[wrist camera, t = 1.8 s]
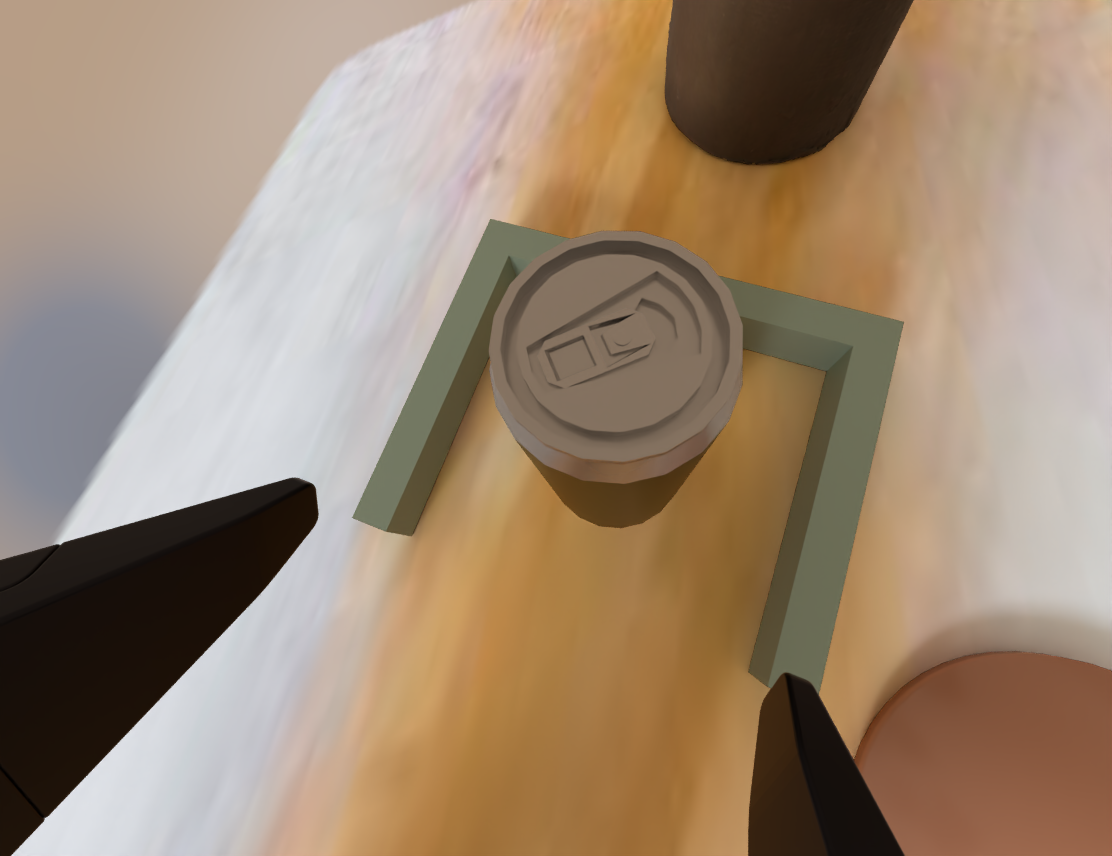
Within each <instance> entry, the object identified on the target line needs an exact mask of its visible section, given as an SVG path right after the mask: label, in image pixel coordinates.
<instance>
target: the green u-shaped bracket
mask: <svg viewBox="0 0 1112 856" xmlns="http://www.w3.org/2000/svg"><path fill="white" fill-rule="evenodd" d="M566 240H569V238H565V237H561V236H557V235H553V234H549V233H545V232H541V231H537V230H533V229H529V228H525V227H521V226H517V225H513V224H509V223H505V222H501V221H497V220H493V219H490V221H489V223H488V226H487V228H486V230H485V232H484V234H483V236H482V239H481V241H480V243H479V245H478V247H477V249H476V251H475V254H474V256H473V258H472V260H471V262H470V264H469V267H468V269H467V271H466V273H465V275H464V277H463V280H462V282H461V284H460V286H459V288H458V290H457V293H456V295H455V297H454V299H453V301H452V303H451V306H450V308H449V310H448V312H447V314H446V316H445V318H444V321H443V323H442V325H441V327H440V329H439V331H438V334H437V336H436V338H435V340H434V342H433V344H432V347H431V349H430V351H429V353H428V355H427V357H426V360H425V362H424V364H423V366H422V368H421V370H420V372H419V375H418V377H417V379H416V381H415V383H414V385H413V388H412V390H411V392H410V394H409V396H408V398H407V401H406V403H405V405H404V407H403V409H402V411H401V414H400V416H399V418H398V420H397V422H396V424H395V426H394V429H393V431H392V433H391V435H390V437H389V439H388V442H387V444H386V446H385V448H384V450H383V452H382V455H381V457H380V459H379V461H378V463H377V465H376V468H375V470H374V472H373V474H372V476H371V478H370V480H369V483H368V485H367V487H366V489H365V491H364V493H363V496H362V498H361V500H360V502H359V504H358V506H357V509H356V511H355V513H354V515H353V517H352V518H354V519H356V520H359V521H361V522H363V523H366V524H368V525H371V526H373V527H376V528H378V529H381V530H383V531H386V532H391V533H396V534H402V535H407V536H412V534H413V532H414V530H415V527H416V525H417V523H418V520H419V518H420V516H421V513H422V511H423V509H424V507H425V504H426V502H427V500H428V497H429V495H430V493H431V490H432V488H433V486H434V483H435V481H436V479H437V476H438V474H439V472H440V469H441V467H442V465H443V463H444V460H445V458H446V456H447V453H448V451H449V449H450V446H451V444H452V442H453V439H454V437H455V435H456V432H457V430H458V428H459V425H460V423H461V421H462V419H463V416H464V414H465V412H466V409H467V407H468V405H469V402H470V400H471V398H472V395H473V393H474V391H475V388H476V386H477V384H478V381H479V379H480V377H481V375H482V372H483V370H484V368H485V365H486V363H487V361H488V358H489V356H490V355H489V344H490V338H491V331H492V324H493V318H494V314H495V312H496V310H497V308H498V306H499V304H500V303H501V301H502V299H503V297H504V295H505V293H506V291H507V289H508V287H509V285H510V283H511V282H512V281H513V280H514V279H515V278H516V277H517V276H518V275H519V274H520V273H521V272H522V271H523V270H524V269H525V268H526V267H527V266H528V265H529V264H530V263H531V262H532V261H533V260H534V259H535V258H536V257H538V256H540V255H542V254H543V253H545V252H547V251H548V250H550V249H552V248H554V247H555V246H557V245H559V244H561V243H562V242H564V241H566ZM719 277H720V279H721V280H722V281H723V282H724V283H725V285H726V286H727V287H728V288H729V290H730V291H731V294H732V297H733V300H734V302H735V305H736V308H737V311H738V313H739V316H740V319H741V322H742V324H743V348H744V349H748V350H751V351H755V352H758V353H762V354H766V355H769V356H773V357H777V358H780V359H784V360H787V361H791V362H795V363H798V364H802V365H806V366H809V367H813V368H816V369H820V370H824V371H827V372H826V376H825V380H824V384H823V388H822V391H821V395H820V399H819V403H818V407H817V411H816V414H815V418H814V422H813V426H812V430H811V434H810V437H809V441H808V445H807V449H806V453H805V457H804V460H803V464H802V468H801V472H800V476H799V479H798V483H797V487H796V491H795V495H794V499H793V502H792V506H791V510H790V514H789V518H788V522H787V525H786V529H785V533H784V537H783V541H782V545H781V548H780V552H779V556H778V560H777V564H776V568H775V571H774V575H773V579H772V583H771V587H770V591H769V594H768V598H767V602H766V606H765V610H764V614H763V617H762V621H761V625H760V629H759V633H758V637H757V640H756V644H755V648H754V652H753V656H752V659H751V663H750V667H749V671H748V672H749V673H750V674H751V675H753V676H754V677H755V678H757V679H758V680H759V681H761V682H762V683H763V684H765V685H766V686H767V687H769V688H772V687H773V685H774V684H775V682H776V681H777V679H778V678H779V676H780V675H781V674H783V673H785V672H788V673H791V674H793V675H796V676H798V677H801V678H804V679H806V680H808V681H809V682H811V683H812V685H813V686H814V687H815V689H816V691H817V693H818V695H819V691H820V687H821V683H822V678H823V674H824V670H825V665H826V661H827V656H828V652H829V648H830V643H831V639H832V635H833V630H834V626H835V621H836V617H837V613H838V608H839V604H840V600H841V595H842V591H843V586H844V582H845V578H846V573H847V569H848V564H849V560H850V556H851V551H852V547H853V543H854V538H855V534H856V529H857V525H858V521H859V516H860V512H861V508H862V503H863V499H864V494H865V490H866V486H867V481H868V477H869V473H870V468H871V464H872V459H873V455H874V451H875V446H876V442H877V438H878V433H879V429H880V424H881V420H882V416H883V411H884V407H885V403H886V398H887V394H888V389H889V385H890V381H891V376H892V372H893V367H894V363H895V359H896V354H897V350H898V346H899V341H900V337H901V332H902V328H903V324H904V322H902V321H898V320H894V319H890V318H886V317H882V316H878V315H874V314H870V313H866V312H862V311H858V310H854V309H850V308H846V307H842V306H838V305H834V304H830V303H826V302H822V301H818V300H814V299H810V298H806V297H802V296H798V295H794V294H790V293H786V292H782V291H778V290H774V289H770V288H766V287H762V286H758V285H754V284H750V283H746V282H742V281H738V280H734V279H730V278H726V277H722V276H719Z"/></svg>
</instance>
